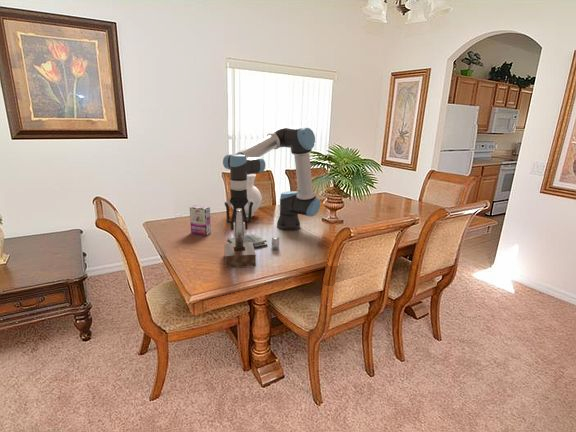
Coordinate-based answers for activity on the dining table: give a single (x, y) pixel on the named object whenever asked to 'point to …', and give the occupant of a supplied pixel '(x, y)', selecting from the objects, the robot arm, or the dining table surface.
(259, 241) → the dish towel
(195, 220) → the candy bar box
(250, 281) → the dining table surface
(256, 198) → the vase
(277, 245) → the short pin
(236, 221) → the long pin
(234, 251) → the hole block
